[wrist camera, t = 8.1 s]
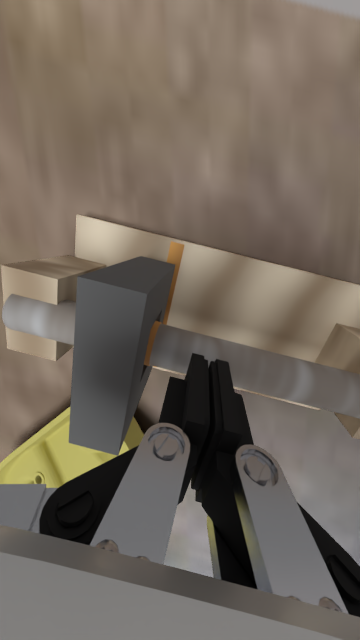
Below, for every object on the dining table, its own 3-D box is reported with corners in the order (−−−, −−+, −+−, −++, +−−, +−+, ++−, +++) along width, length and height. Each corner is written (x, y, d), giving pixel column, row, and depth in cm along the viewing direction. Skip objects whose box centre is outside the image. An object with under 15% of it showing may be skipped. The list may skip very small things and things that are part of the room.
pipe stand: (382, 290, 17) (534, 336, 9) (316, 400, 21) (383, 496, 13) (80, 214, 17) (-21, 197, 9) (74, 337, 21) (0, 396, 13)
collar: (175, 264, 15) (147, 294, 7) (153, 363, 18) (118, 455, 10) (141, 255, 15) (77, 276, 7) (125, 355, 18) (68, 442, 10)
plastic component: (94, 386, 20) (152, 492, 18) (135, 372, 27) (180, 446, 25) (-23, 480, 25) (11, 573, 23) (38, 447, 32) (68, 515, 29)
